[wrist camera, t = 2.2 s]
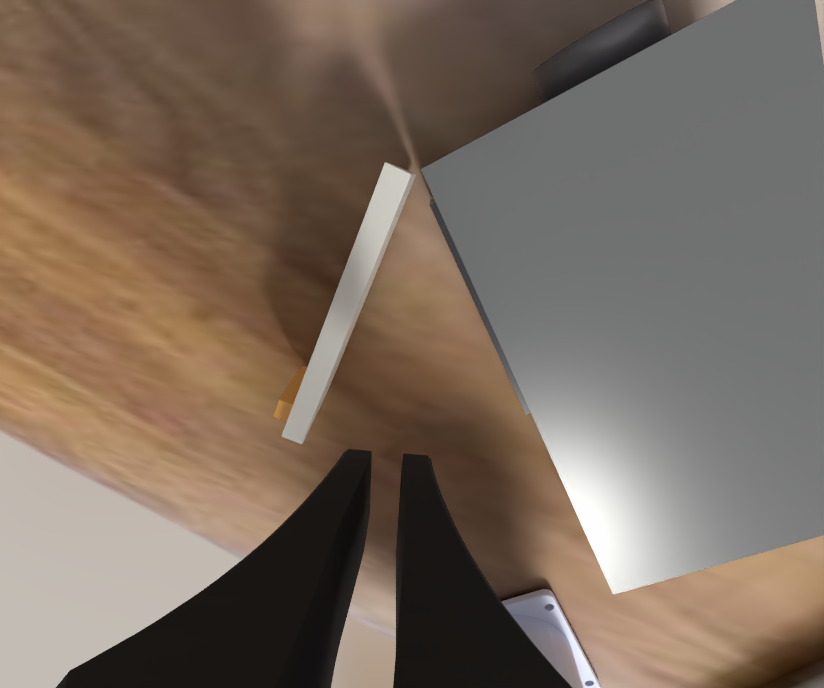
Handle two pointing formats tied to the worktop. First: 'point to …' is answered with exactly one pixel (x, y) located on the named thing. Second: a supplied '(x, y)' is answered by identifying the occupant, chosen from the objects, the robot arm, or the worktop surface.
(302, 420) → the door
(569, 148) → the camera housing
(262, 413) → the worktop surface
